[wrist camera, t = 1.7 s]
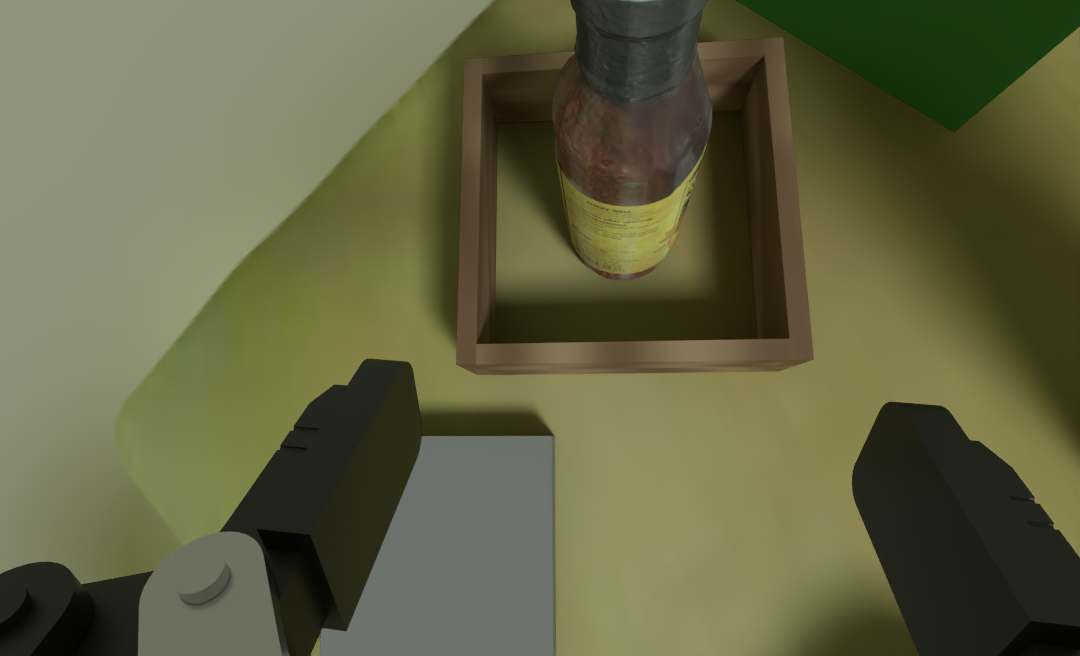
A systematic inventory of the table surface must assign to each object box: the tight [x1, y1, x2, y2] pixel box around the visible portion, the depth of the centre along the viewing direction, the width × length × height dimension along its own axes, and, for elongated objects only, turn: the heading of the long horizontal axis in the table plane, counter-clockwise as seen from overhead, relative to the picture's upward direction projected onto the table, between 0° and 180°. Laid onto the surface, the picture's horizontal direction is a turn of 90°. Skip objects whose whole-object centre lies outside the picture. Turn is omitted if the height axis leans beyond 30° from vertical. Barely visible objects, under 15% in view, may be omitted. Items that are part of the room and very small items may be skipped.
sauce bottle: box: [552, 0, 712, 280], centre depth 23 cm, size 6×6×20 cm
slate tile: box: [320, 436, 556, 656], centre depth 30 cm, size 12×12×2 cm
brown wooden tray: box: [456, 37, 814, 375], centre depth 31 cm, size 17×17×5 cm
